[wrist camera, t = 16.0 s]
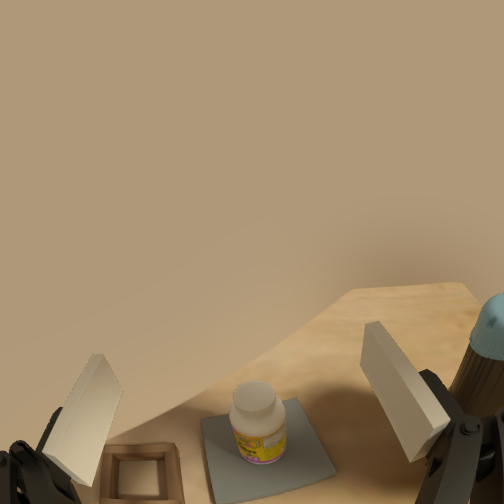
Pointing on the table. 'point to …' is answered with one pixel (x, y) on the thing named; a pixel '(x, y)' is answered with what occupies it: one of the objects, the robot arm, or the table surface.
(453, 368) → the table surface
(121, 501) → the locating collar
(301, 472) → the slate mat
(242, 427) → the supplement bottle
